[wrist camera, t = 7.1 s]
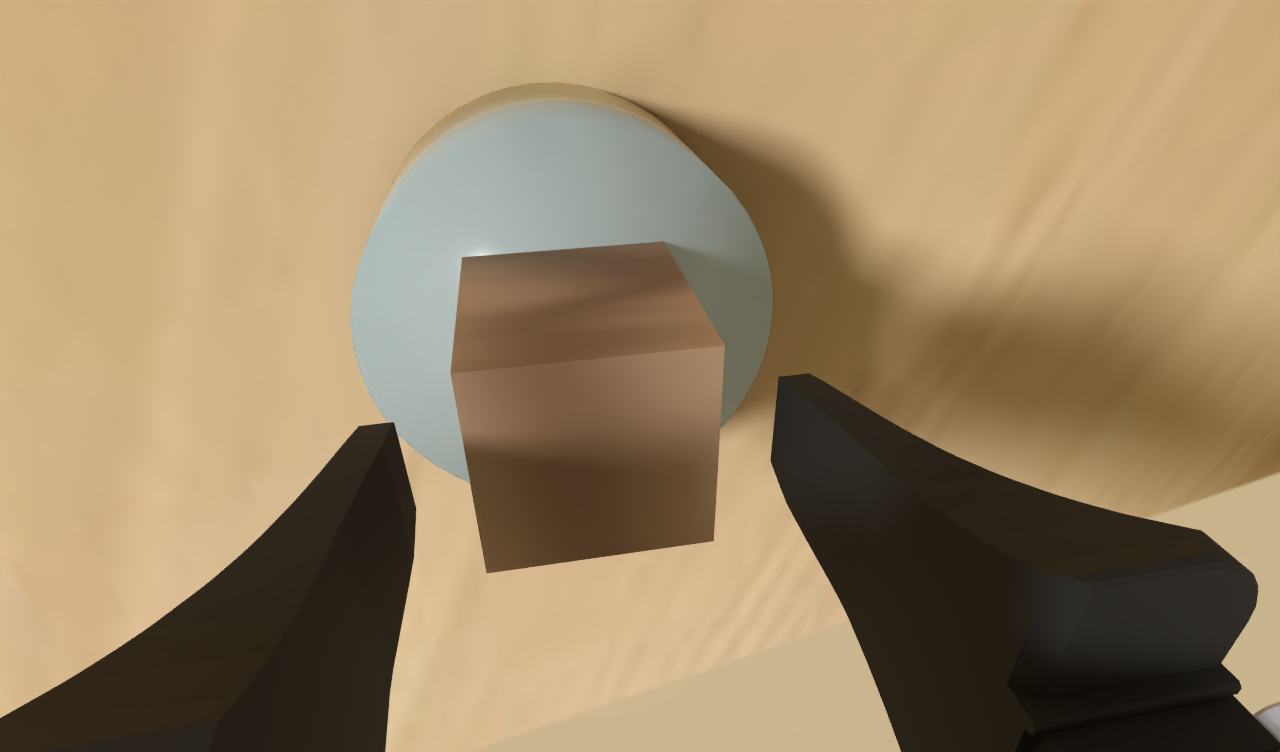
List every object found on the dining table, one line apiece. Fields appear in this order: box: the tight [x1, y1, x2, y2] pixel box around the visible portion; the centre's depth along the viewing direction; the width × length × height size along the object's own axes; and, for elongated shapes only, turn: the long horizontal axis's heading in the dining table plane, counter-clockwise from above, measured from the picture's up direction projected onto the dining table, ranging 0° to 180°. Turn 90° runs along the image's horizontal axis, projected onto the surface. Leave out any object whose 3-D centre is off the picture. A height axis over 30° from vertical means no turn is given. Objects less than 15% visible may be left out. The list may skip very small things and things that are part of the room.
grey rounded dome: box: [351, 83, 773, 482], centre depth 19 cm, size 10×10×5 cm
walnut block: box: [450, 241, 725, 573], centre depth 15 cm, size 4×4×5 cm
